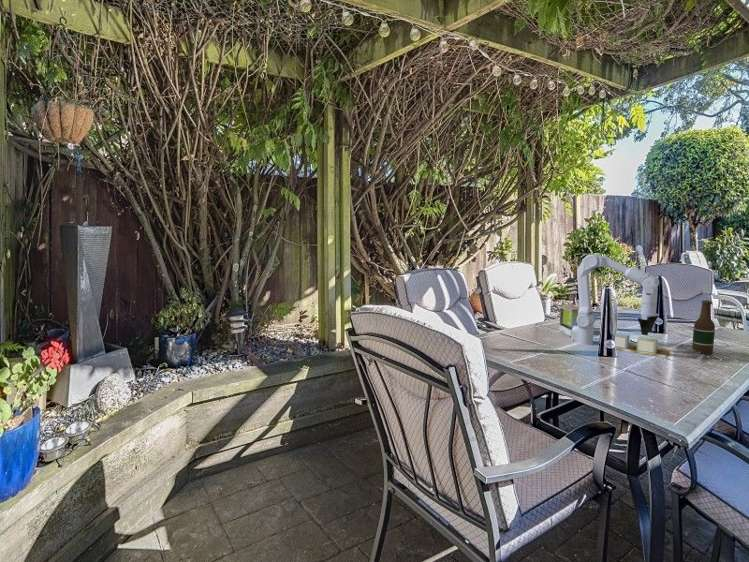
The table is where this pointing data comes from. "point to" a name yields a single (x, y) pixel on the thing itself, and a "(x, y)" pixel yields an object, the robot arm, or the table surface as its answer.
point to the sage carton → (647, 345)
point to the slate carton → (622, 341)
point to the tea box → (568, 318)
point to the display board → (660, 353)
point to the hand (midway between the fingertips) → (646, 333)
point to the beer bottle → (704, 330)
